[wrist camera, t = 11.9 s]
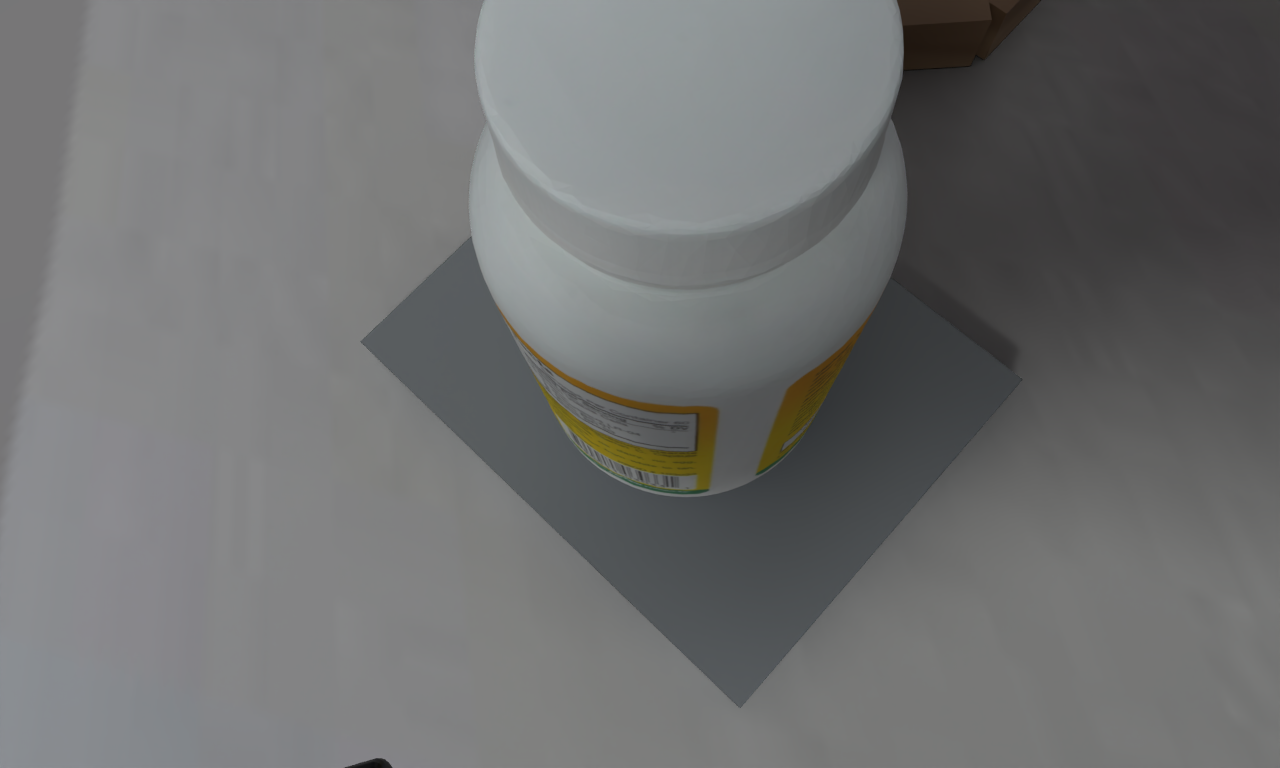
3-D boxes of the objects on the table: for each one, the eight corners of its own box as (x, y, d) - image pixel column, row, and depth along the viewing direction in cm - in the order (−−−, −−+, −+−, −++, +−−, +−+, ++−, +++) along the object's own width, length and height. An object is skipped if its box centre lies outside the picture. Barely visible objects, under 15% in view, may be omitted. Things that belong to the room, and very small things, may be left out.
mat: (1008, 391, 18) (1022, 379, 17) (737, 705, 16) (739, 707, 16) (638, 102, 20) (635, 79, 19) (374, 354, 19) (360, 341, 18)
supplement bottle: (589, 536, 17) (458, 386, 7) (519, 279, 18) (341, -109, 9) (869, 453, 17) (1082, 205, 8) (776, 205, 18) (859, -250, 9)
